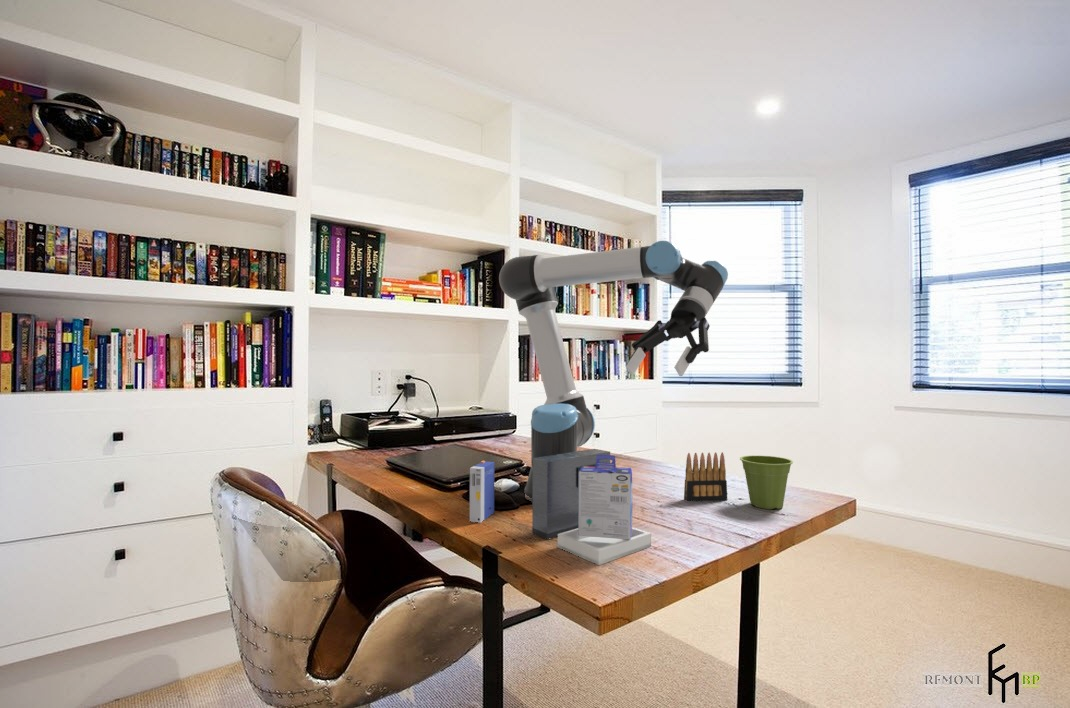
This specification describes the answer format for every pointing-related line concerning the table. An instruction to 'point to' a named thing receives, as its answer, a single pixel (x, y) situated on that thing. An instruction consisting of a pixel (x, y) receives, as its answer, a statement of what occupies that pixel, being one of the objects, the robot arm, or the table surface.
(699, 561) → the table surface
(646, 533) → the tray
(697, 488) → the ammunition clip
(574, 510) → the block
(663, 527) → the table surface
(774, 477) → the plant pot
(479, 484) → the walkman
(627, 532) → the ink cartridge box
